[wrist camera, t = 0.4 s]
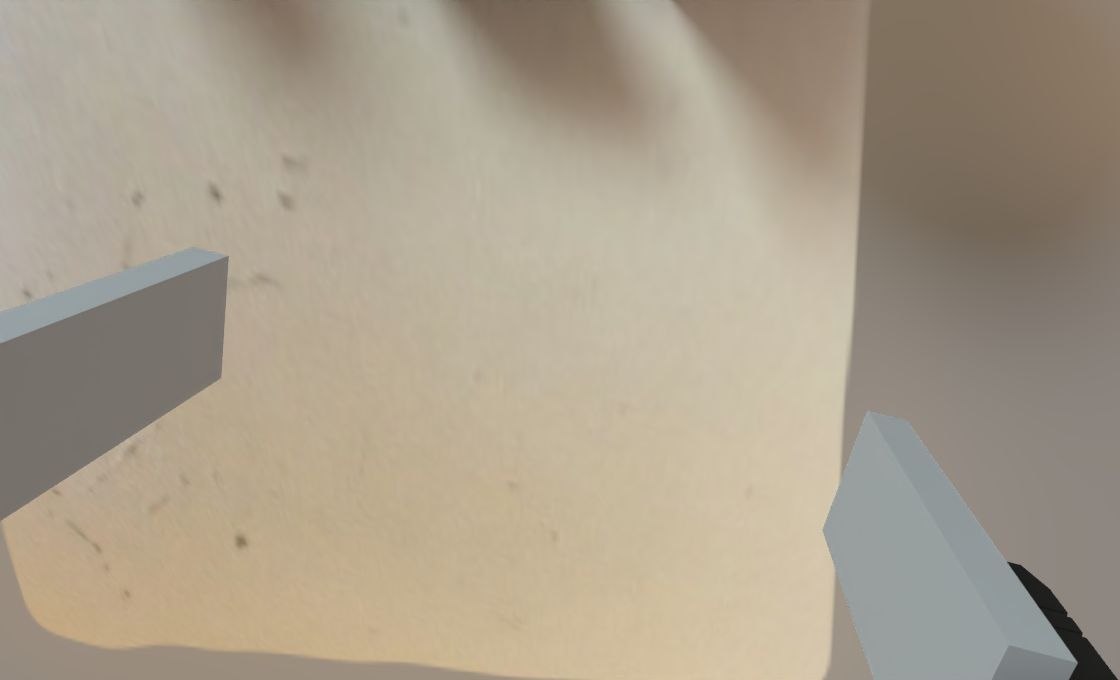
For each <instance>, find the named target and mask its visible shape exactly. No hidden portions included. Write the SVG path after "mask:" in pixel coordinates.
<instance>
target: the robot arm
mask: <svg viewBox="0 0 1120 680" xmlns="http://www.w3.org/2000/svg"><path fill="white" fill-rule="evenodd" d="M228 257H229V256H227V255H223V254H219V253H215V252H211V251H206V250H202V249H198V248H194V247H193V248H190V249H187V250H184V251H181V252H178V253H175V254H172V255H169V256H166V257H163V258H160V259H157V260H154V261H151V262H148V263H145V264H142V265H139V266H137V267H134V268H131V269H128V270H125V271H122V272H119V273H116V274H113V275H110V276H107V277H104V278H101V279H98V280H95V281H92V282H89V283H86V284H83V285H80V286H77V287H74V288H71V289H68V290H65V291H62V292H59V293H56V294H53V295H51V296H48V297H45V298H42V299H39V300H36V301H33V302H30V303H27V304H24V305H21V306H18V307H15V308H12V309H9V310H6V311H3V312H0V521H1V520H3V519H4V518H6V517H7V516H9V515H10V514H12V513H13V512H15V511H16V510H18V509H20V508H21V507H23V506H24V505H26V504H27V503H29V502H30V501H32V500H33V499H35V498H37V497H38V496H40V495H41V494H43V493H44V492H46V491H47V490H49V489H50V488H52V487H54V486H55V485H57V484H58V483H60V482H61V481H63V480H64V479H66V478H67V477H69V476H70V475H72V474H74V473H75V472H77V471H78V470H80V469H81V468H83V467H84V466H86V465H87V464H89V463H91V462H92V461H94V460H95V459H97V458H98V457H100V456H101V455H103V454H104V453H106V452H108V451H109V450H111V449H112V448H114V447H115V446H117V445H118V444H120V443H121V442H123V441H124V440H126V439H128V438H129V437H131V436H132V435H134V434H135V433H137V432H138V431H140V430H141V429H143V428H145V427H146V426H148V425H149V424H151V423H152V422H154V421H155V420H157V419H158V418H160V417H162V416H163V415H165V414H166V413H168V412H169V411H171V410H172V409H174V408H175V407H177V406H178V405H180V404H182V403H183V402H185V401H186V400H188V399H189V398H191V397H192V396H194V395H195V394H197V393H199V392H200V391H202V390H203V389H205V388H206V387H208V386H209V385H211V384H212V383H214V382H216V381H217V380H219V379H220V378H221V372H222V356H223V339H224V323H225V306H226V290H227V274H228ZM823 533H824V536H825V539H826V542H827V545H828V548H829V551H830V554H831V557H832V560H833V562H834V565H835V568H836V571H837V574H838V577H839V580H840V583H841V586H842V589H843V592H844V595H845V598H846V601H847V604H848V606H849V609H850V612H851V615H852V618H853V621H854V624H855V627H856V630H857V633H858V636H859V639H860V642H861V645H862V648H863V650H864V653H865V656H866V659H867V662H868V665H869V668H870V671H871V674H872V677H873V680H1118V679H1117V678H1116V677H1115V675H1114V674H1113V673H1112V671H1111V670H1110V669H1109V667H1108V666H1107V665H1106V663H1105V662H1104V661H1103V659H1102V658H1101V657H1100V655H1099V654H1098V653H1097V651H1096V650H1095V649H1094V647H1093V646H1092V645H1091V643H1090V642H1089V641H1088V639H1087V638H1084V637H1082V632H1081V630H1080V629H1079V627H1078V626H1077V625H1076V623H1075V622H1074V621H1073V619H1072V618H1070V617H1067V612H1066V610H1065V609H1064V607H1063V606H1062V605H1061V604H1060V602H1059V601H1058V600H1057V598H1056V597H1055V596H1054V594H1053V593H1052V592H1051V590H1050V589H1049V588H1048V587H1046V586H1045V585H1044V584H1043V583H1042V582H1040V581H1039V580H1038V579H1037V578H1036V577H1034V576H1033V575H1032V574H1031V573H1030V572H1028V571H1027V570H1026V569H1025V568H1023V567H1022V566H1021V565H1018V564H1014V563H1010V562H1006V560H1005V559H1004V557H1003V556H1002V555H1001V553H1000V552H999V550H998V549H997V547H996V546H995V545H994V543H993V542H992V540H991V539H990V538H989V536H988V535H987V534H986V532H985V530H984V529H983V528H982V526H981V525H980V523H979V522H978V521H977V519H976V518H975V516H974V515H973V514H972V512H971V511H970V509H969V508H968V506H967V505H966V504H965V502H964V501H963V499H962V498H961V496H960V495H959V494H958V492H957V491H956V489H955V488H954V487H953V485H952V484H951V482H950V481H949V479H948V478H947V477H946V475H945V474H944V472H943V471H942V470H941V468H940V467H939V465H938V464H937V463H936V461H935V459H934V458H933V457H932V455H931V454H930V452H929V451H928V450H927V448H926V447H925V445H924V444H923V442H922V441H921V440H920V438H919V437H918V435H917V434H916V433H915V431H914V430H913V428H912V427H911V426H910V424H909V423H908V421H907V420H904V419H899V418H895V417H891V416H887V415H883V414H879V413H874V412H870V411H867V413H866V416H865V419H864V421H863V424H862V427H861V429H860V432H859V434H858V437H857V440H856V443H855V445H854V448H853V450H852V454H851V456H850V459H849V461H848V464H847V466H846V469H845V472H844V474H843V477H842V480H841V482H840V485H839V488H838V490H837V493H836V496H835V498H834V501H833V503H832V506H831V509H830V511H829V514H828V517H827V519H826V522H825V525H824V527H823Z"/></svg>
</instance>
